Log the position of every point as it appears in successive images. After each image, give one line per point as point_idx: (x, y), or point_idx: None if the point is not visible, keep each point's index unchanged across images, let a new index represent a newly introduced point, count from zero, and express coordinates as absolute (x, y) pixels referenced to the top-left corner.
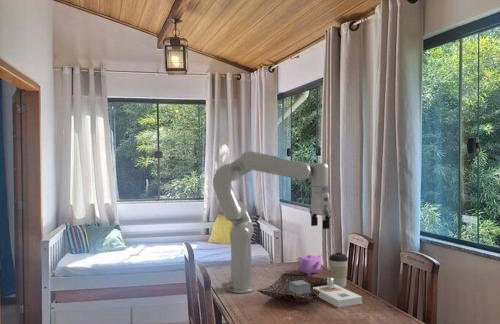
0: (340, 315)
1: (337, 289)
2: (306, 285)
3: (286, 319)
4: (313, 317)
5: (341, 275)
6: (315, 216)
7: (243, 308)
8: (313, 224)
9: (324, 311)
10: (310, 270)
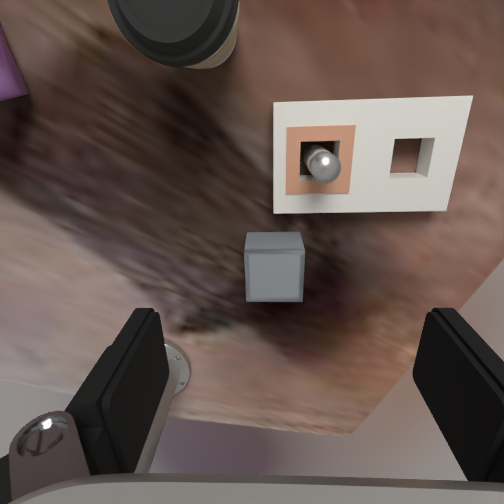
0: (486, 235)
1: (346, 141)
2: (303, 263)
3: None
4: (446, 305)
5: (237, 28)
6: (98, 449)
7: (297, 405)
8: (164, 371)
9: (430, 258)
10: (11, 75)
